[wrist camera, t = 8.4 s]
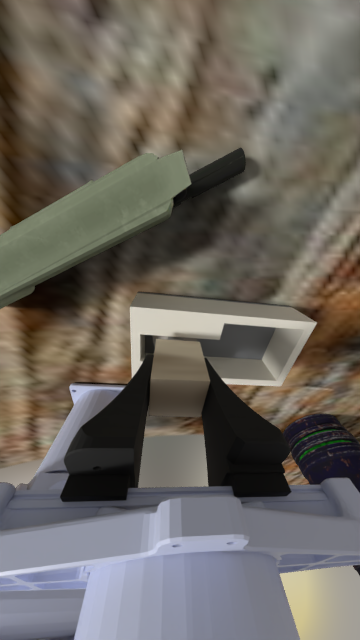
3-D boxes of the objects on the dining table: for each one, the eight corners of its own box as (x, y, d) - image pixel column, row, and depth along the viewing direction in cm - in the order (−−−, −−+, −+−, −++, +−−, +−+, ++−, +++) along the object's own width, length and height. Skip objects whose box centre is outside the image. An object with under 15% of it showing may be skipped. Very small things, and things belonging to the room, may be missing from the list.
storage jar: (284, 419, 27) (388, 590, 14) (344, 408, 27) (512, 577, 14) (280, 448, 32) (356, 597, 19) (331, 439, 32) (447, 588, 18)
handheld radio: (-32, 278, 15) (230, 134, 11) (1, 308, 17) (240, 189, 13) (-157, 312, 9) (295, 40, 6) (-89, 352, 11) (298, 161, 7)
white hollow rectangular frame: (289, 306, 18) (317, 322, 14) (263, 362, 21) (280, 386, 18) (138, 291, 16) (129, 306, 13) (138, 355, 20) (132, 379, 16)
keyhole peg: (192, 351, 18) (205, 421, 12) (153, 348, 18) (142, 419, 11) (199, 316, 16) (219, 376, 10) (154, 312, 16) (142, 372, 9)
